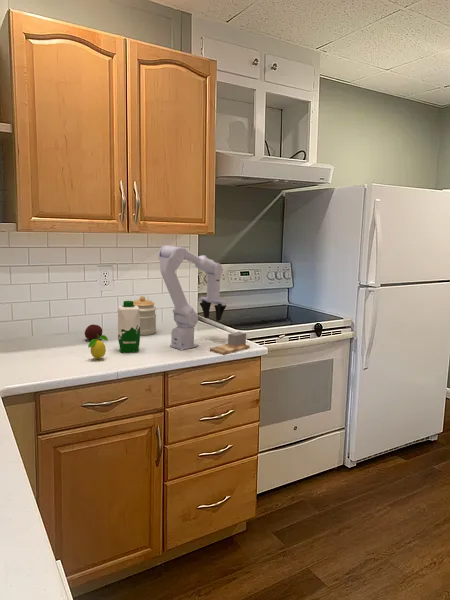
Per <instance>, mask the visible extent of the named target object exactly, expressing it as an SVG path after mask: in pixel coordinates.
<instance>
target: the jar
mask: <svg viewBox="0 0 450 600" xmlns="http://www.w3.org/2000/svg"><path fill="white" fill-rule="evenodd" d="M132 301H133V305H134V306H138V307H139V311H140V336H149V335H151V336H152V335H154V334H156V332H157V314H156V310H157V307H156V306H155V302H153V301H152V300H150V299H146V297H145V296H144V295H143V296H140V297H139V299H135V300H132Z"/></svg>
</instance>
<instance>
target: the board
mask: <svg viewBox="0 0 450 600" xmlns="http://www.w3.org/2000/svg"><path fill="white" fill-rule="evenodd" d="M250 346H251V345H249V344H246V345H243V346H239V347H232V346H228V343H227V344H221V345H218V346H214V347H210V348H209V352H212V353H216V354H219V355H224V356H225V355H228V354H233V353H236V352H240V351H243V350H244V349H245V350H249V349H250V348H251V347H250ZM248 348H249V349H248ZM245 350H244V351H245Z"/></svg>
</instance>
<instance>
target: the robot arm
mask: <svg viewBox="0 0 450 600" xmlns="http://www.w3.org/2000/svg"><path fill="white" fill-rule="evenodd" d="M157 258H158V261H159V265H160V267H159V269H160V275H161V276H162V279H163V281H164V284H165V286H166V289H167V291H168V294H169V296H170V299H171V301H172V303H173V306H174V308H173V309H172V314H173V321H174V322H175V323H176V325H175V326H176V327H174V328H172V330H171V333H170V334H171V335H170V337H171V339H170V341H171V344H170V347H172V348H174V349H177V350H181V351H183V350H187V349H188V350H189V349H191V348H196V347H199V345H198V344H195V327H196V325H197V324H198V322H199V314H198V313H197V312H196V311H195V310H194V308H193V307H192V306H191V305H190V304H189V303H188V301H187V298H186V296H185V292H184V291H183V289H182V286H181V283H180V280H179V277H178V276H177V273H176V272H177V270H178V268H179V267H180V266H181V264H182V263H183V261H188V262H190V263H193V264H194V266H195V268H197V269H198V270H201V271H202V272H204V274H206V276H207V277H206V278H207V279H206V296H200V298H199V299H200V300H199V301H200V302H199V305H200V306H201V309H202V314H203V317H204V318H205V319H208V318H209V316H210V310H211V305H212V304H214V306H213V307H214V310H215V320H216V321H217V322H219V321H221V320H222V316H223V313H224V311H225V309H226V308H227V300H224V299H221V297H220V296H221V295H220V292H221V291H220V289H221V278H222V274H223V271H224V268H223V266H222V264H221V263H220V262H215V261H214V259H210V258H208V257H207V255H206V254H205V255H199V256H198V255H197V254H195V253H194V252H192V251H189V250H188V249H186V248H185V247H182V246H173V245H163V246H161V247H160V248H159V252H158V254H157Z"/></svg>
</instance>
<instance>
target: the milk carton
mask: <svg viewBox="0 0 450 600" xmlns="http://www.w3.org/2000/svg"><path fill="white" fill-rule="evenodd" d="M133 301H134V300H123V305H118V311H117V340H118V345H119V350H120V353H121V354H124V353H126V354H127V353H139V350H140V343H141V335H140V311H139V307H138V306H134V305H133Z"/></svg>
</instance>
